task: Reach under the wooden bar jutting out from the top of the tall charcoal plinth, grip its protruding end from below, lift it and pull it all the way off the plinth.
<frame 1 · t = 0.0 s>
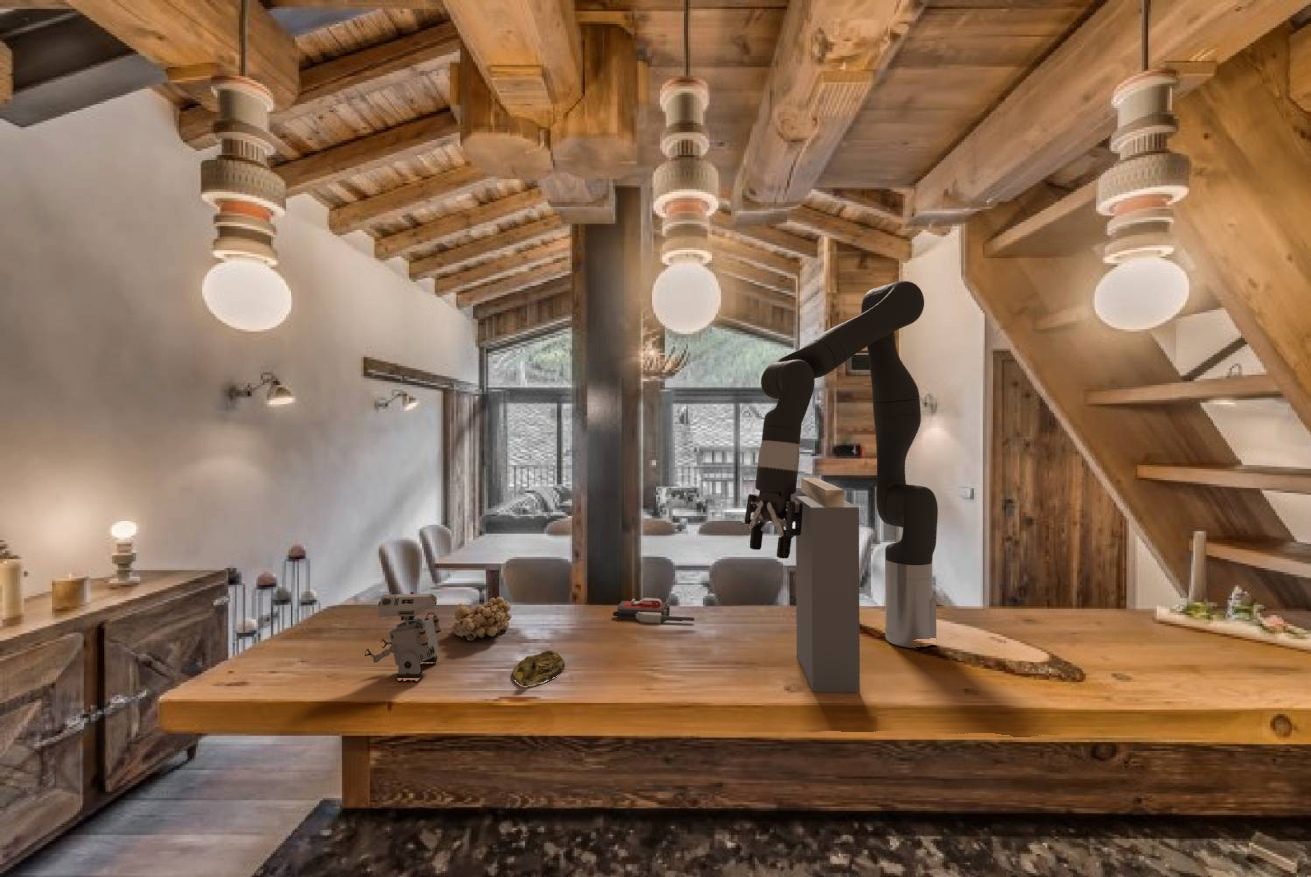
hand: (768, 553, 110), 22 cm above the kitchen island, tool pointing down, fingers open, 8 cm apart
olive green oval lump: (539, 673, 112), on the kitchen island
red black elongated piece: (654, 619, 143), on the kitchen island
wooden bar: (820, 498, 113), point 32 cm above the kitchen island, touching charcoal plinth
charcoal plinth: (825, 672, 110), on the kitchen island
figurine: (406, 673, 112), on the kitchen island
mineral formation: (479, 638, 130), on the kitchen island
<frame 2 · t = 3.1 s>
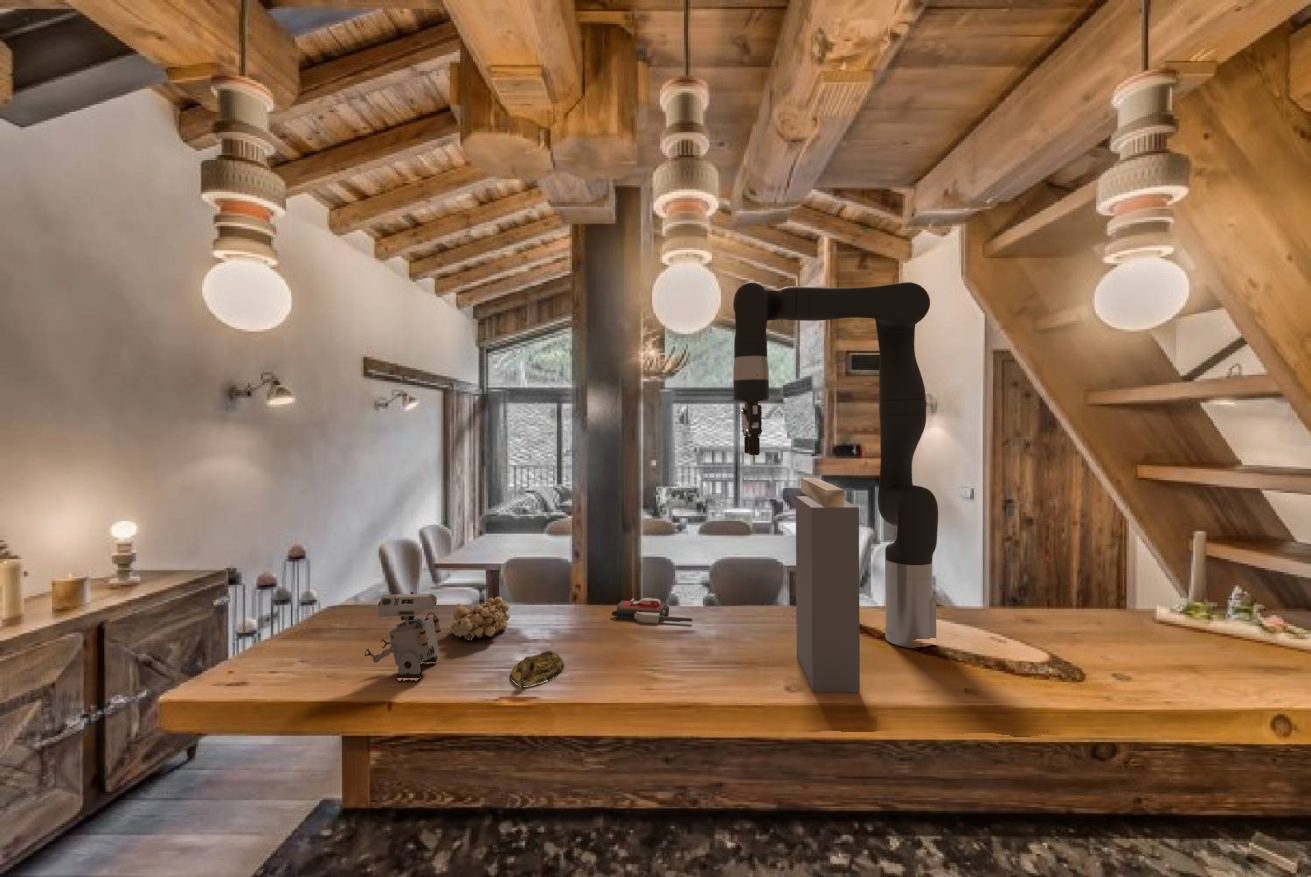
hand: (751, 454, 127), 40 cm above the kitchen island, tool pointing down, fingers open, 8 cm apart
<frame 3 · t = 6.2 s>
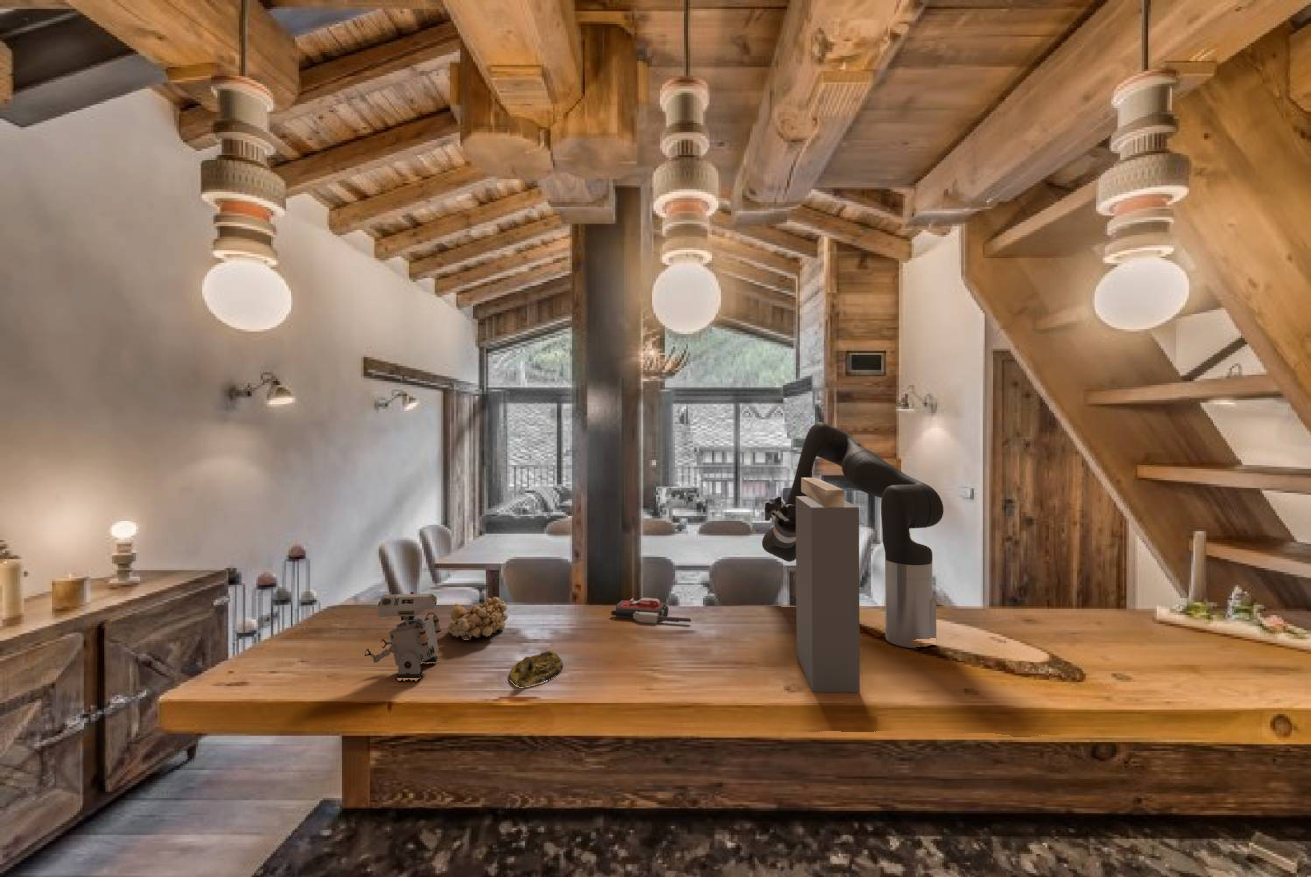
hand: (798, 499, 137), 29 cm above the kitchen island, tool pointing upward, fingers open, 8 cm apart
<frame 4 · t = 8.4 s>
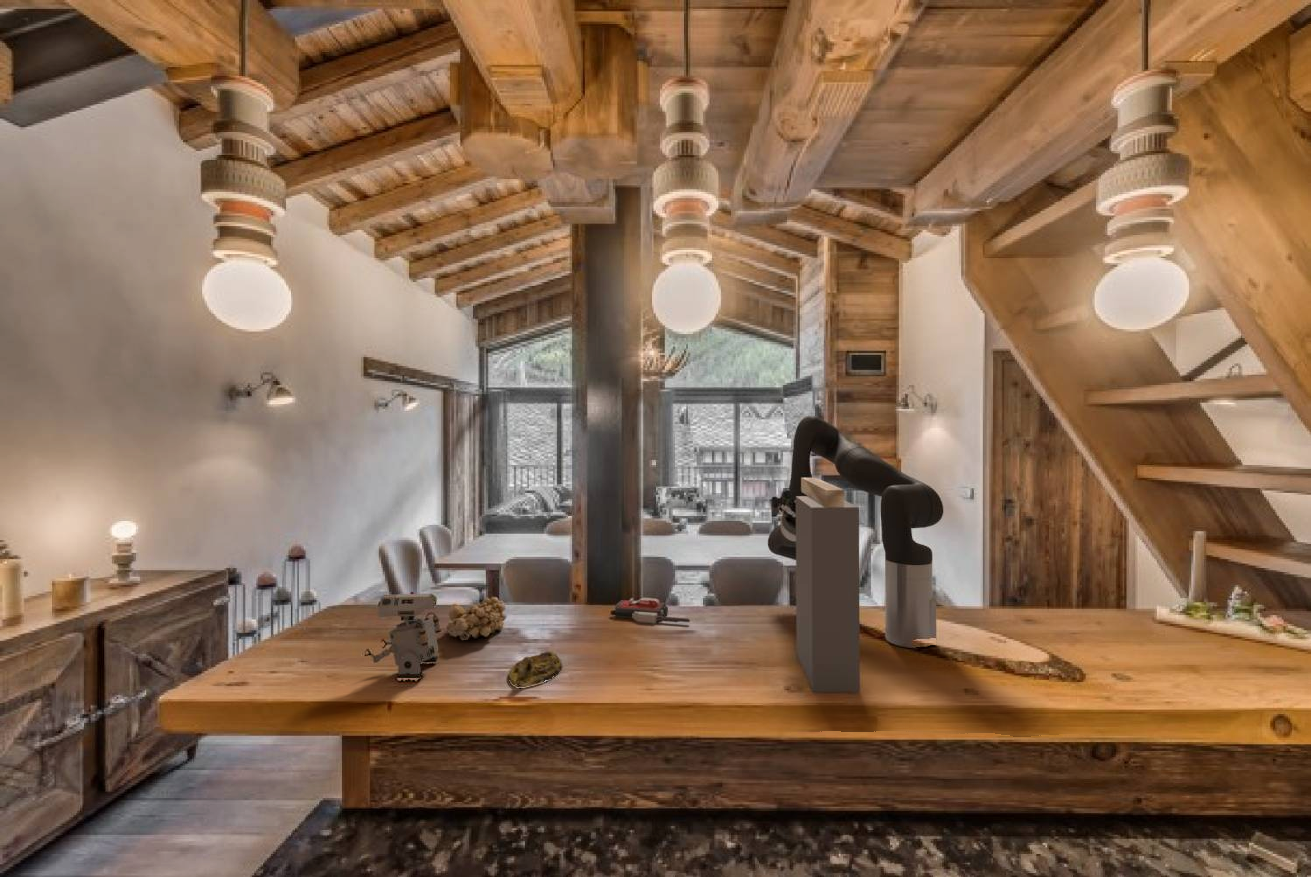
hand: (808, 493, 125), 32 cm above the kitchen island, tool pointing upward, fingers open, 8 cm apart
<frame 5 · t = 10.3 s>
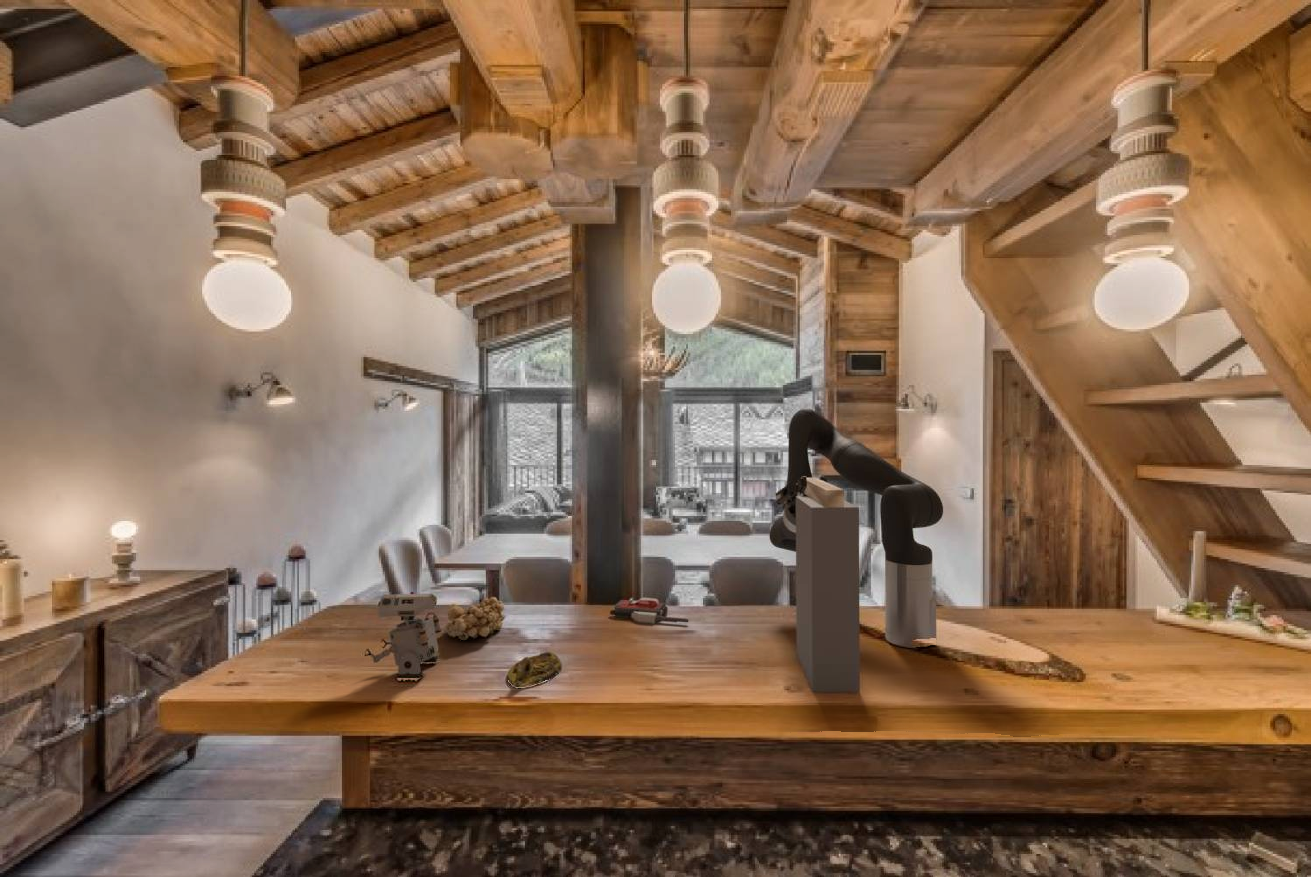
hand: (814, 480, 119), 35 cm above the kitchen island, tool pointing upward, fingers closed on wooden bar, 3 cm apart
wooden bar: (820, 498, 113), point 32 cm above the kitchen island, touching charcoal plinth, gripper
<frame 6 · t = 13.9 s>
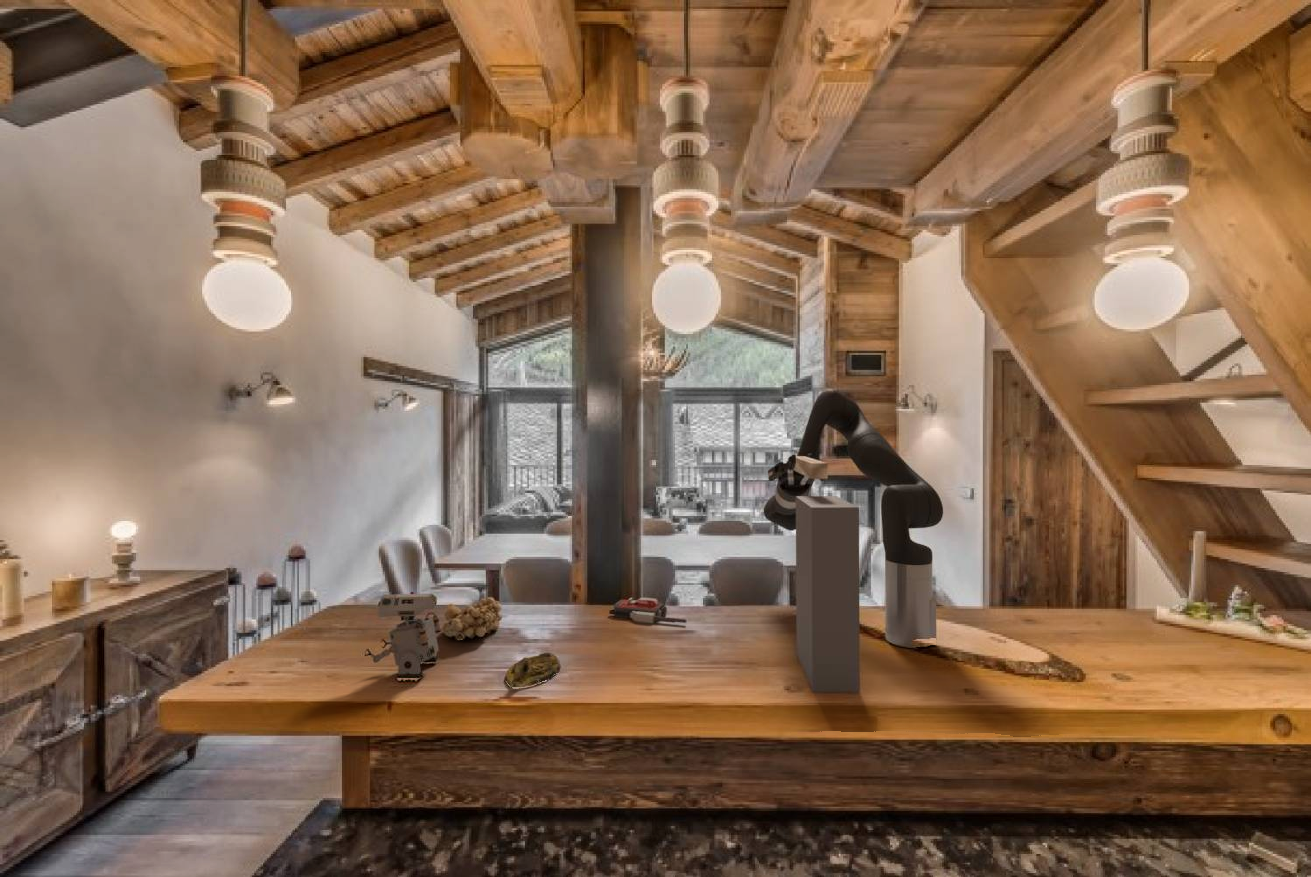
hand: (802, 457, 131), 39 cm above the kitchen island, tool pointing upward, fingers closed on wooden bar, 3 cm apart
wooden bar: (807, 473, 125), point 36 cm above the kitchen island, touching gripper
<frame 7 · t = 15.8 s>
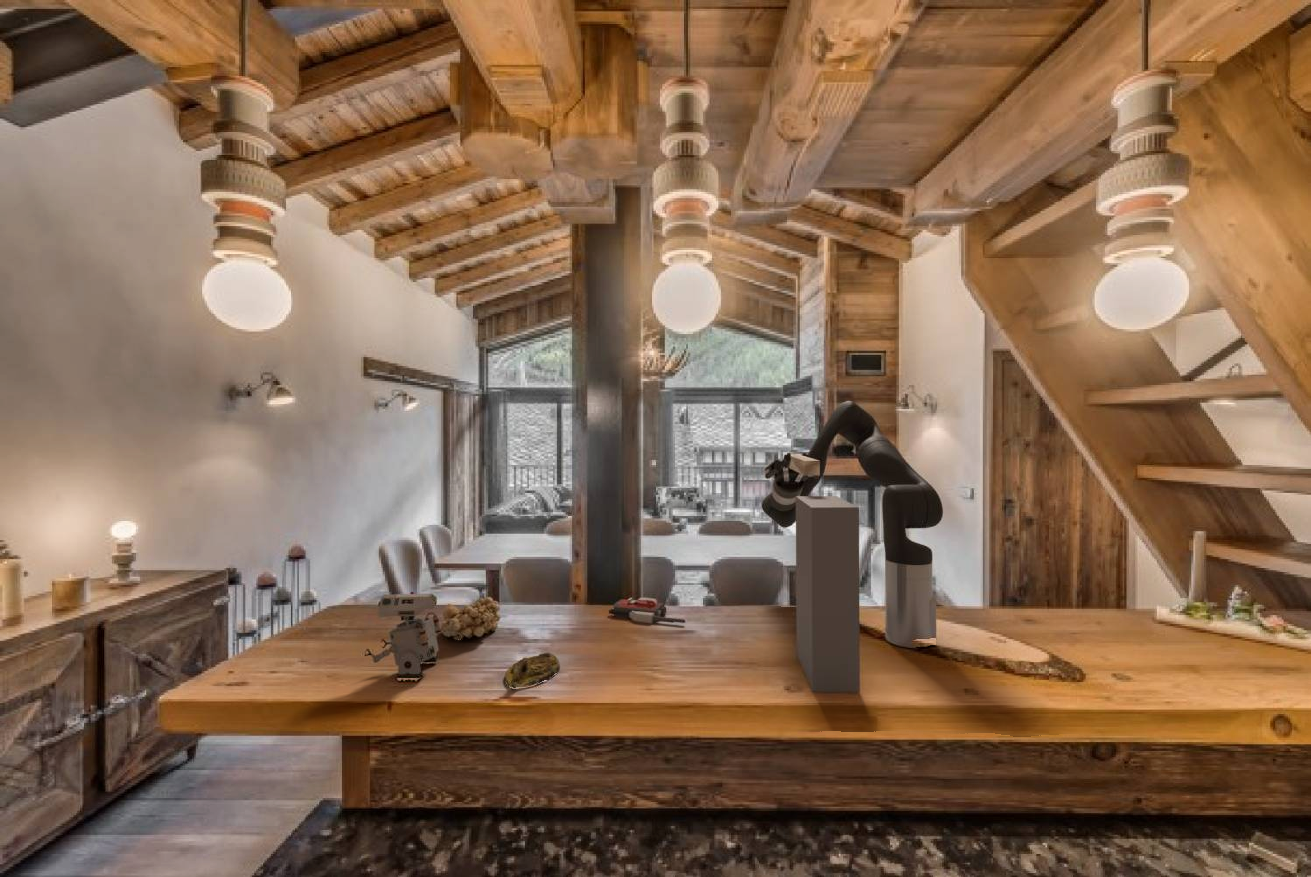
hand: (797, 456, 138), 39 cm above the kitchen island, tool pointing upward, fingers closed on wooden bar, 3 cm apart
wooden bar: (801, 470, 132), point 36 cm above the kitchen island, touching gripper
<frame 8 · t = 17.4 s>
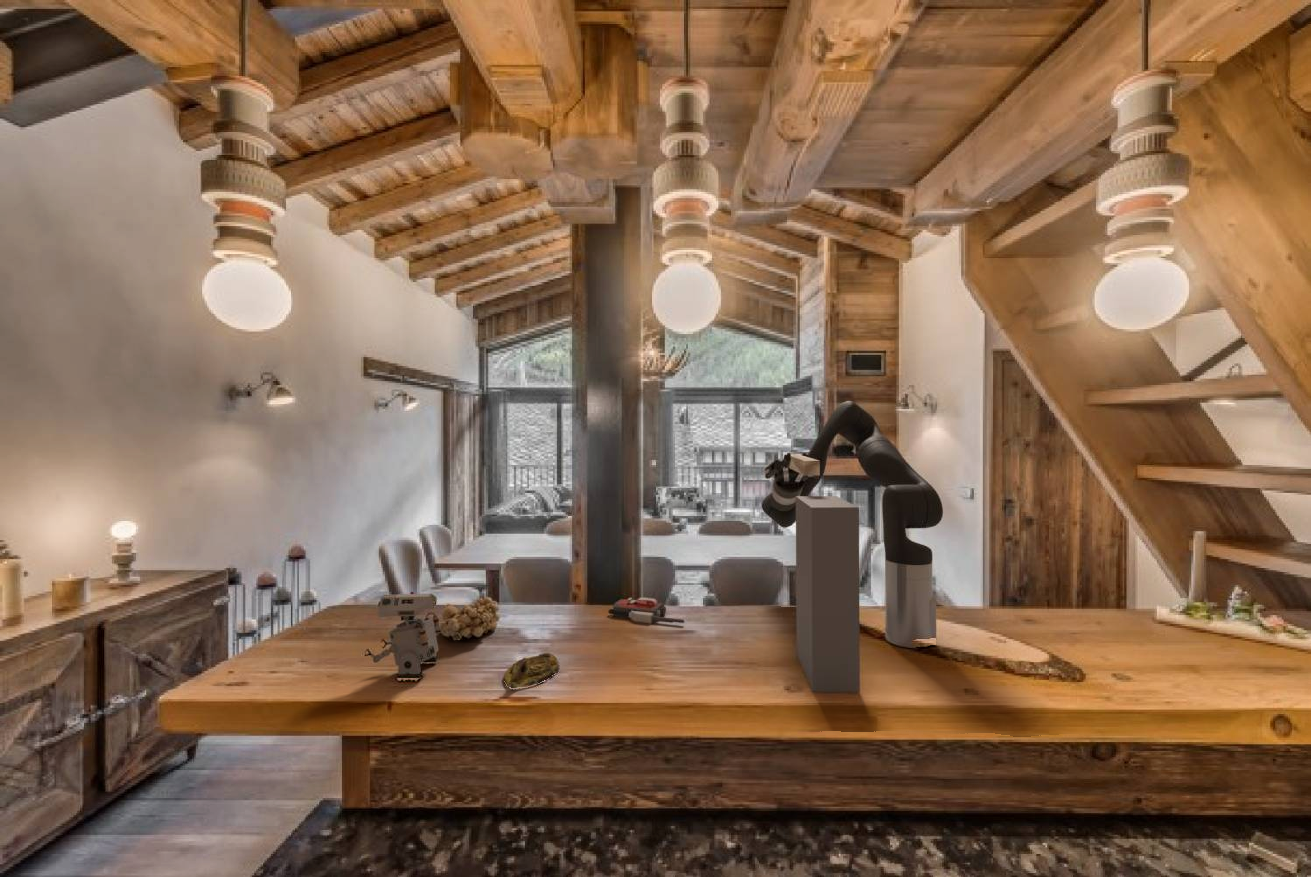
hand: (797, 456, 138), 39 cm above the kitchen island, tool pointing upward, fingers closed on wooden bar, 3 cm apart
wooden bar: (801, 470, 132), point 36 cm above the kitchen island, touching gripper
at the end: the gripper is holding wooden bar; wooden bar touching gripper; wooden bar inside the target area (0.5 cm from its centre), point 35.9 cm above the kitchen island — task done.
